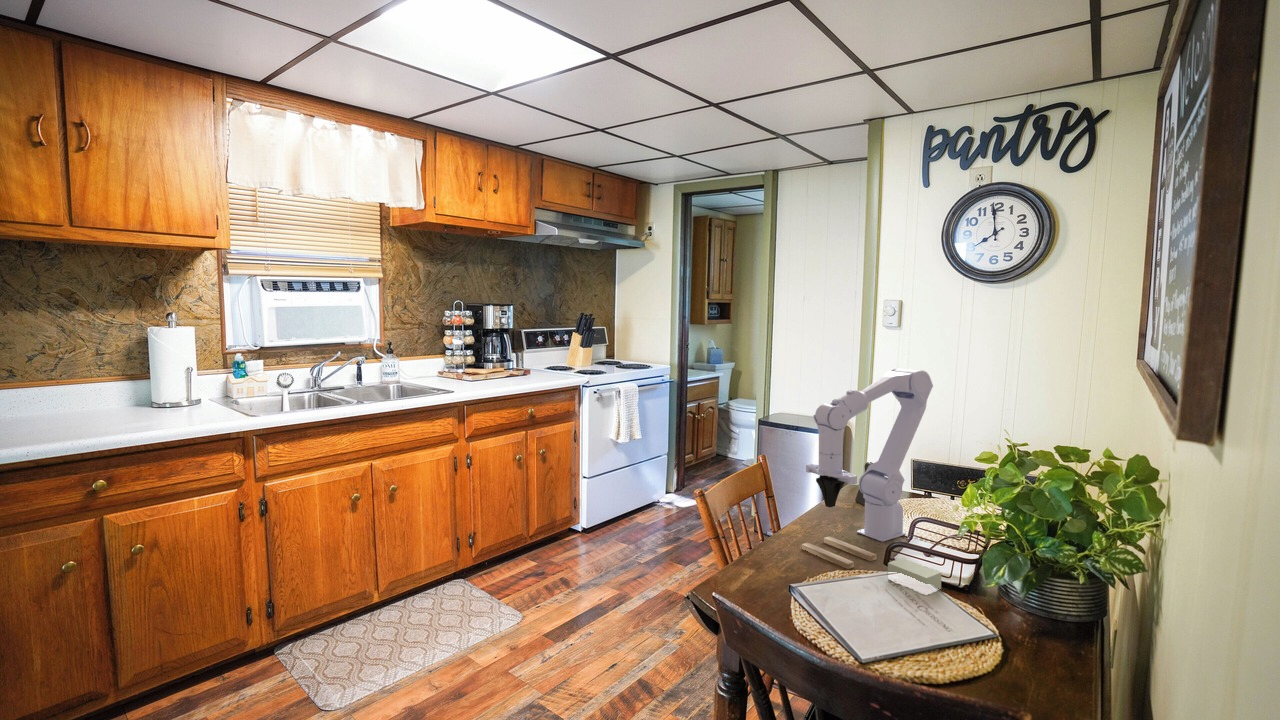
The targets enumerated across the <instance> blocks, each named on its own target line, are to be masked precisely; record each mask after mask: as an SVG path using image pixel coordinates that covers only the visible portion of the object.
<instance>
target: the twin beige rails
mask: <svg viewBox="0 0 1280 720" xmlns="http://www.w3.org/2000/svg"><path fill="white" fill-rule="evenodd" d="M823 543H824V544H827V545H829V546H831V547H833V548H836V549H839V550H842V551H844V552H847V553H850V554H851V555H854V556H856V557H859V558H862V559H864V560H867V561H869V562H874V561H876V560H877V554H876V553H873V552H871V551H868V550H865V549H863V548H861V547H859V546H856V545H854V544H850V543H848V542H845V541H843V540H840V539H837V538H835V537H832V536H826V537H823ZM801 550H803V551H805V550H806V552H807V551H808V552H807V553H810V554H812V555H814V556H816V555H817V557H819V558H821V559H824V560H825V561H828V562H831V563H833V564H834V565H835V564H836V565H837V566H839V567H842V568H844V569H847V570H849V569H852V568H854V567H855V562H854V561H852V560H850V559H847V558H845V557H843V556H840V555H838V554H837V553H836V554H835V553H834V552H831V551H829V550H826V549H824V548H821V547H819V546H817V545H814V544H812V543H809V542H806V543H802V544H801Z"/></svg>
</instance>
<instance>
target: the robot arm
mask: <svg viewBox="0 0 1280 720" xmlns="http://www.w3.org/2000/svg"><path fill="white" fill-rule="evenodd" d="M933 388H934V384H933V380H932V379H931V376H930V375H929V373H928V372H927V371H925V370H923V369H922V370H920V369H919V370H915V369H914V370H913V369H905V368H901V367H893V368H892V369H891V370H889V371H886V372H885V373H884V375H883V376H882V377H880V378H879V379H877V380H875V381H874V382H873V383H871V384H870V385H868V386H867V387H865V388H864V389H862V390H857V389H849V390H847V391H846V394H844V395H842V396H841V397H838V399H836V398H834V399H833V400H831V402H830V403H822V404H821V405H819V406H818V408H816V410H815V413H814V414H813V420H814V422H815V424H816V425H817V431H818V464H814V463H808V464H805V472H806V473H807V474H808V473H811V474H815V475H818V476H819V477H816V478H815V482H816V483H817V485H818V487H819V489H820V491H821V494H822V497H823V501H824V506H825V507H827V508H833V507H836V504H837V500H838V496H839V494H840V491H841V490H842V488H843V486H844V485H845V483H847V484H848V485H850V486H853V485H857V484H858V490H859V489H860V491H861V492H862V493H863V498H865V506H864V528H861V529H859V530H856V532H857V533H858V534H860V535H863V536H865V537H868V538H871V539H873V540H874V539H875V541H879V542H886V541H890V540H892V539H896V538H899V537H902V536H905V535H906V532H905V531H903V530H904V511H903V510H904V509H903V506H902V504H901V502H900V499H901V496H902V493H903V485H904V482H905V478H904V476H903V474H902V473H901V471H900V469H901V468H902V464H903V462H904V461H905V458H906V457H907V453H908V451H909V449H910V446H911V444H912V442H913V439H914V437H915V434H916V432H917V430H918V428H919V425H920V423H921V421H922V418H923V416H924V415H925V412H926V408H927V402H928V398H929V396H930V394H931V391H932V389H933ZM890 393H892V395H893V396H894V398H895V399H896V400H897V402H899V404H900V406H901V407H900V410H899V412H898V413H897V416H896V419H895V421H894V424H893V426H892V428H891V431H890V433H889V434H888V438H887V440H886V442H885V444H884V446H883V448H882V451H881V454H880V456H879V458H878V460H877V461H876V462H872V463H873V464H871V465H869V466H868V468H867V470H866V472H865V471H864V472H865V473H864V472H863V474H861V476H860V478H859V480H858V475H855V474H853V473H850V472H848V471H846V470H843V464H844V463H843V461H844V460H843V459H844V458H843V457H844V453H843V452H844V451H843V450H844V449H843V448H844V447H843V446H844V445H843V444H844V429H845V428H846V427H847V426H848V423H849V421H850V420H851V419H852V418H854V417H856V416H858V415H859V414H861V413H864V412H865V411H867V410H868V407H869V403H872V402H873V401H875V400H878V399H880V398H881V397H883V396H886V395H887V394H890ZM884 476H885V477H884Z"/></svg>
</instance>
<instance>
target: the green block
mask: <svg viewBox="0 0 1280 720" xmlns="http://www.w3.org/2000/svg"><path fill="white" fill-rule="evenodd" d="M888 572H897V573H902V574H904V575H907V576H910V577H912V578H915V579H916V580H918V581H920V582H923V583H925V584H932V585H934V586H935V587H937V588H939V589H941V590H942V572H941V571H939V570H937V569H933V568H932V567H931V568H930V567H928V566H926V565H922V564H920V563H917V562H915V561H912V560H910V559H907V558H905V557H901V558H898V559H895V560H891V561H890V562H887V573H888Z"/></svg>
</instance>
